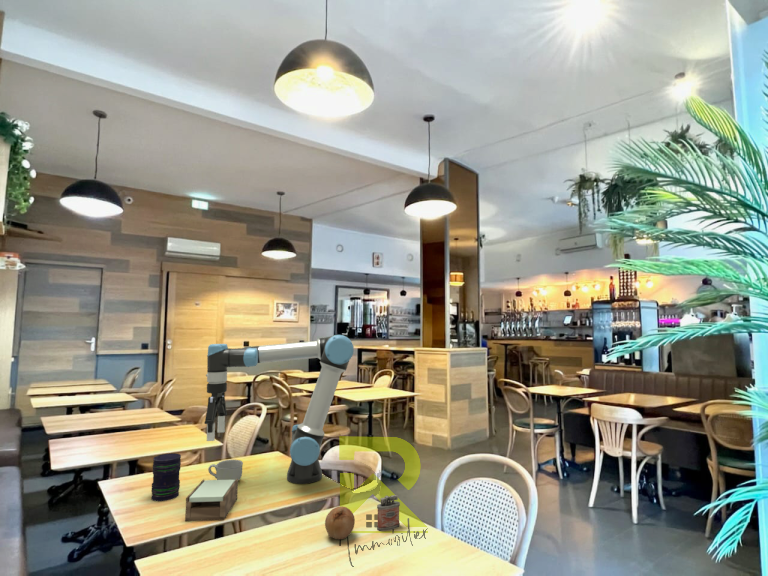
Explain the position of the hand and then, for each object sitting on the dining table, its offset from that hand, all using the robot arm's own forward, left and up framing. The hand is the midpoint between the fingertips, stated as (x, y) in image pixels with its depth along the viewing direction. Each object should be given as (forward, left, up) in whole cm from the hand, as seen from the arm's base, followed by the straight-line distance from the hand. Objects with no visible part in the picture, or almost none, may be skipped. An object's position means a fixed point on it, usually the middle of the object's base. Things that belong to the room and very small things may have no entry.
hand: (216, 436), depth 174 cm
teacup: (-1, -13, -23) cm, 26 cm away
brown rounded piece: (-50, +39, -23) cm, 67 cm away
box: (-4, +15, -22) cm, 27 cm away
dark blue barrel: (+18, +1, -22) cm, 29 cm away
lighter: (-66, +34, -22) cm, 78 cm away
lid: (-4, +15, -16) cm, 22 cm away
